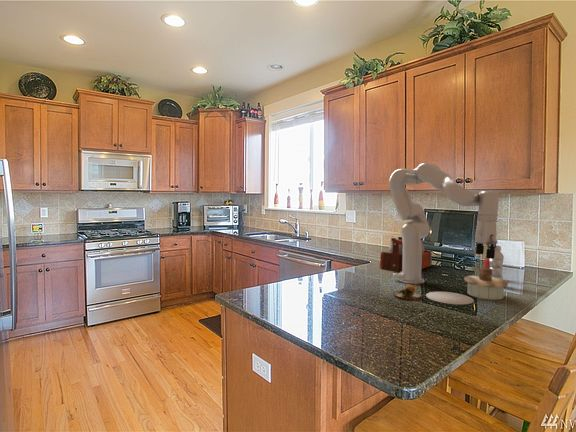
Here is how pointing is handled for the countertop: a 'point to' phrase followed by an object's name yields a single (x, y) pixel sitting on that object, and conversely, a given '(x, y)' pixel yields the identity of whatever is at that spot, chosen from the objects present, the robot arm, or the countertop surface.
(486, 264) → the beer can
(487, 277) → the lid
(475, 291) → the bowl
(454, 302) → the pad
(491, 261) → the plastic bottle
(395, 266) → the milk bottle holder
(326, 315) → the countertop surface
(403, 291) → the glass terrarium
